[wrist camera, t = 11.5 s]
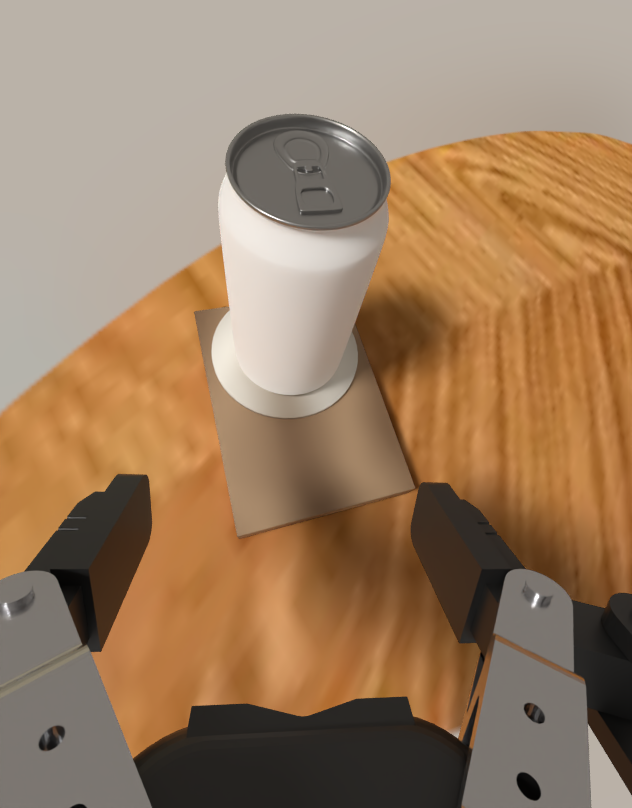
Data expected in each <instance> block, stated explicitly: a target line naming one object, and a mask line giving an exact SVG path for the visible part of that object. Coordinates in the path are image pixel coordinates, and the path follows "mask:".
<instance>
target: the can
mask: <svg viewBox="0 0 632 808" xmlns="http://www.w3.org/2000/svg"><path fill="white" fill-rule="evenodd" d="M225 166H226V172H227V173H226V175H225V177H224V179H223V182H222V185H221V188H220V192H219V198H218V213H219V224H220V233H221V242H222V251H223V259H224V267H225V276H226V284H227V292H228V300H229V308H230V316H231V324H232V331H233V339H234V346H235V352H236V357H237V360H238V363H239V365H240V367H241V369H242V370H243V372H244V373H245V374H246V376H247V377H248V378H249V379H250V380H251V381H252V382H254V383H255V384H256V385H258V386H259V387H261V388H263V389H265V390H267V391H270V392H273V393H277V394H282V395H299V394H305V393H308V392H311V391H314V390H316V389H318V388H320V387H321V386H323V385H324V384H325V383H326V382H328V381H329V380H330V379H331V377H332V376H333V375H334V373H335V372H336V370H337V368H338V366H339V364H340V361H341V359H342V356H343V353H344V351H345V348H346V345H347V343H348V340H349V337H350V335H351V332H352V329H353V327H354V324H355V321H356V318H357V316H358V313H359V310H360V307H361V305H362V302H363V299H364V297H365V294H366V291H367V288H368V286H369V283H370V280H371V277H372V274H373V272H374V269H375V266H376V263H377V260H378V258H379V255H380V252H381V249H382V246H383V243H384V240H385V237H386V233H387V228H388V221H389V215H388V205H387V196H388V194H389V190H390V184H391V178H390V172H389V168H388V165H387V163H386V161H385V159H384V157H383V155H382V154H381V153H380V151H379V150H378V149H377V147H376V146H375V145H374V144H373V143H372V142H371V141H369V140H368V139H367V138H366V137H364V136H363V135H362V134H360V133H359V132H357V131H356V130H354V129H352V128H350V127H348V126H346V125H344V124H342V123H339V122H337V121H334V120H330V119H328V118H324V117H319V116H314V115H306V114H284V115H276V116H271V117H267V118H264V119H261V120H258V121H256V122H254V123H252V124H250V125H248V126H247V127H245V128H244V129H243V130H241V131H240V132H239V133H238V134H237V135H236V136H235V137H234V139H233V140H232V142H231V143H230V145H229V147H228V150H227V153H226V161H225Z"/></svg>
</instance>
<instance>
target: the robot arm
mask: <svg viewBox="0 0 632 808" xmlns="http://www.w3.org/2000/svg"><path fill="white" fill-rule="evenodd" d="M151 529H152V514H151V501H150V487H149V479H148V476H147V475H135V474H118V475H116V477H115V478H114V479H113V481H112V482H111V484H110V485H109V486H108V488H107V489H106V491H105V492H94V493H92V494H91V495H89V496H88V497H86V498H85V499H83V500H82V501H80V502H79V503H78V504H77V505H76V506H75V507H74V509H73V510H72V511H71V513H70V514H69V515H68V516H67V519H65V520H64V521H63V523H62V524H61V525H60V527H59V529H58V531H56V532H55V533H54V534H53V535H52V537H51V538H50V539H49V541H48V542H47V543H46V544H45V546H44V547H43V548H42V549H41V551H40V552H39V553H38V555H37V556H36V557H35V558H34V560H33V561H32V562H31V564H30V565H29V566H28V567H27V569H26V570H25V571H24V572H21V573H17V574H14V575H11V576H9V577H6V578H4V579H2V580H0V808H591V791H590V769H589V746H588V745H589V744H588V724H589V726H590V728H591V729H592V731H593V732H594V734H595V736H596V737H597V739H598V741H599V742H600V744H601V745H602V747H603V749H604V750H605V752H606V754H607V755H608V757H609V759H610V760H611V762H612V764H613V765H614V767H615V768H616V770H617V772H618V773H619V775H620V777H621V778H622V780H623V781H624V783H625V785H626V787H627V788H628V790H629V791H630V793H631V795H632V594H627V593H618V594H614V595H613V596H612V597H611V598H610V600H609V602H608V604H607V606H606V608H601V607H597V606H593V605H589V604H585V603H581V602H577V601H573V600H571V599H570V597H569V595H568V594H567V593H566V591H565V590H564V589H563V588H562V587H561V586H560V585H558V584H557V583H556V582H554V581H553V580H551V579H550V578H548V577H546V576H544V575H542V574H540V573H538V572H535V571H531V570H527V569H525V568H524V566H523V565H522V564H521V563H520V561H519V560H518V559H517V558H516V556H515V555H514V554H513V552H512V551H511V550H510V549H509V547H508V546H507V545H506V544H505V542H504V541H503V540H502V538H501V537H500V536H499V535H497V532H496V531H495V530H494V528H493V527H492V526H491V525H489V522H488V521H487V519H486V518H485V517H484V516H483V514H482V513H481V512H480V510H478V509H477V508H476V507H474V506H473V505H471V504H470V503H469V502H467V501H466V500H460V499H459V497H458V496H457V495H456V493H455V492H454V491H453V489H452V488H451V486H450V485H449V484H448V483H430V482H423V483H421V484H420V486H419V490H418V494H417V499H416V504H415V508H414V513H413V518H412V522H411V539H412V543H413V546H414V548H415V550H416V552H417V554H418V556H419V559H420V561H421V563H422V565H423V567H424V569H425V571H426V574H427V576H428V578H429V580H430V582H431V584H432V586H433V588H434V591H435V593H436V595H437V597H438V599H439V601H440V603H441V606H442V608H443V610H444V612H445V614H446V616H447V618H448V621H449V623H450V625H451V627H452V629H453V631H454V633H455V636H456V638H457V640H458V642H459V643H477V644H478V646H479V648H480V650H481V651H480V654H479V657H478V660H477V664H476V668H475V672H474V676H473V680H472V684H471V689H470V693H469V697H468V701H467V705H466V710H465V714H464V718H463V722H462V726H461V730H460V733H459V737H458V738H456V737H455V736H453V735H452V734H450V733H449V732H447V731H446V730H444V729H442V728H440V727H438V726H436V725H435V724H433V723H430V722H428V721H425V720H423V719H420V718H417V717H413V715H412V712H411V708H410V705H409V701H408V698H407V697H387V698H364V699H355V700H352V701H349V702H346V703H344V704H341V705H338V706H335V707H332V708H329V709H327V710H324V711H321V712H318V713H315V714H313V715H310V716H304V717H301V716H296V715H292V714H288V713H284V712H279V711H275V710H271V709H267V708H263V707H259V706H255V705H251V704H229V705H207V706H192V708H191V713H190V719H189V724H188V727H186V728H183V729H181V730H178V731H176V732H174V733H172V734H170V735H168V736H165V737H163V738H162V739H160V740H159V741H157V742H155V743H154V744H152V745H150V746H149V747H148V748H146V749H145V750H144V751H142V752H141V753H140V754H138V755H137V756H136V757H134V758H132V756H131V753H130V751H129V748H128V746H127V743H126V740H125V738H124V735H123V733H122V730H121V728H120V725H119V723H118V720H117V718H116V715H115V713H114V710H113V708H112V705H111V703H110V700H109V698H108V695H107V692H106V690H105V687H104V685H103V682H102V680H101V677H100V675H99V672H98V670H97V667H96V665H95V662H94V660H93V657H92V655H91V652H101V651H102V648H103V646H104V644H105V641H106V639H107V637H108V635H109V632H110V630H111V628H112V625H113V623H114V621H115V619H116V616H117V614H118V612H119V609H120V607H121V605H122V602H123V600H124V598H125V596H126V593H127V591H128V589H129V586H130V584H131V582H132V579H133V577H134V575H135V573H136V570H137V568H138V566H139V563H140V561H141V559H142V557H143V554H144V552H145V550H146V547H147V545H148V543H149V539H150V535H151Z"/></svg>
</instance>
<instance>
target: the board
mask: <svg viewBox="0 0 632 808" xmlns="http://www.w3.org/2000/svg"><path fill="white" fill-rule="evenodd" d="M194 314H195V319H196V324H197V329H198V334H199V340H200V345H201V350H202V355H203V360H204V366H205V371H206V376H207V381H208V386H209V392H210V397H211V402H212V407H213V412H214V418H215V423H216V428H217V433H218V438H219V444H220V449H221V454H222V459H223V465H224V470H225V475H226V480H227V485H228V491H229V496H230V501H231V506H232V511H233V517H234V522H235V527H236V532H237V537H238V538H239V539H241V538H245V537H248V536H252V535H256V534H259V533H263V532H267V531H270V530H274V529H278V528H281V527H285V526H289V525H292V524H296V523H300V522H303V521H307V520H310V519H314V518H318V517H321V516H325V515H329V514H332V513H336V512H340V511H343V510H347V509H351V508H354V507H358V506H362V505H365V504H369V503H373V502H376V501H380V500H384V499H387V498H391V497H394V496H398V495H402V494H405V493H408V492H410V491H411V490H413V489H415V486H414V483H413V480H412V477H411V475H410V472H409V469H408V467H407V464H406V461H405V458H404V456H403V453H402V450H401V447H400V445H399V442H398V439H397V437H396V434H395V431H394V428H393V426H392V423H391V420H390V417H389V415H388V412H387V409H386V407H385V404H384V401H383V398H382V396H381V393H380V390H379V387H378V385H377V382H376V379H375V376H374V374H373V371H372V368H371V366H370V363H369V360H368V357H367V355H366V352H365V349H364V346H363V344H362V341H361V338H360V336H359V333H358V330H357V327H356V325H355V324H354V327H353V329H352V332H351V335H350V337H349V340H348V343H347V345H346V348H345V351H344V353H343V356H342V359H341V361H340V364H339V366H338V368H337V370H336V372H335V373H334V375H333V376H332V377H331V379H330V380H329V381H328V382H326V383H325V384H324V385H323V386H321V387H320V388H318V389H316V390H314V391H311V392H308V393H305V394H299V395H282V394H277V393H273V392H270V391H267V390H265V389H263V388H261V387H259V386H258V385H256V384H255V383H254V382H252V381H251V380H250V379H249V378H248V377H247V376H246V374H245V373H244V372H243V370H242V369H241V367H240V365H239V363H238V360H237V357H236V352H235V346H234V339H233V331H232V324H231V316H230V308H229V307H222V308H216V309H209V310H202V311H195V312H194Z"/></svg>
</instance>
